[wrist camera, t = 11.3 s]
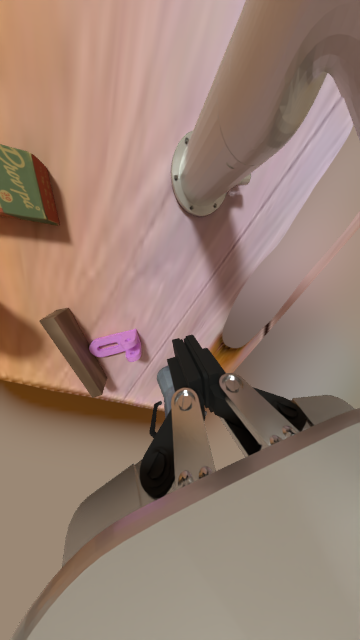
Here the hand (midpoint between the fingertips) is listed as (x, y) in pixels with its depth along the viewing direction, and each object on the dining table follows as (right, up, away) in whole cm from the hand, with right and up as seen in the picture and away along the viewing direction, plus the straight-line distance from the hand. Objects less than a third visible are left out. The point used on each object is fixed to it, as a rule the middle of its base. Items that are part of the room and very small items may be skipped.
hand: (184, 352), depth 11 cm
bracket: (-19, -4, +28) cm, 34 cm away
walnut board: (-26, -5, +26) cm, 37 cm away
